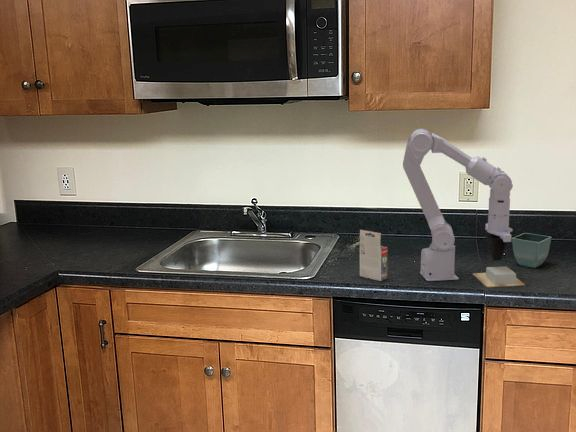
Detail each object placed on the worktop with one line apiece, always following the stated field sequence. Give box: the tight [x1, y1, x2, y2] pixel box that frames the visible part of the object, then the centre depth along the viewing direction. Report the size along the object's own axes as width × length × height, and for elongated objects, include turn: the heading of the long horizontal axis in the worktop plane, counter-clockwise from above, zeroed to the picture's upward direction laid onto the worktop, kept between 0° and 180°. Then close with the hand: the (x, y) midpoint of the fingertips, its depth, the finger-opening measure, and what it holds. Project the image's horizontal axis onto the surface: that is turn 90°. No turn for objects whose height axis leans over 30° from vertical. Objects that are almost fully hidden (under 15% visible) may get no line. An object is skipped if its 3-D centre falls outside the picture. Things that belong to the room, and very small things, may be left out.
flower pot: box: [511, 232, 552, 269], centre depth 202 cm, size 9×9×9 cm
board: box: [472, 272, 526, 288], centre depth 190 cm, size 11×12×1 cm
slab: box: [485, 265, 517, 285], centre depth 188 cm, size 6×3×7 cm
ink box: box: [359, 229, 389, 282], centre depth 194 cm, size 4×8×15 cm, turn 47°
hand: (496, 259), depth 191 cm, fingers closed
